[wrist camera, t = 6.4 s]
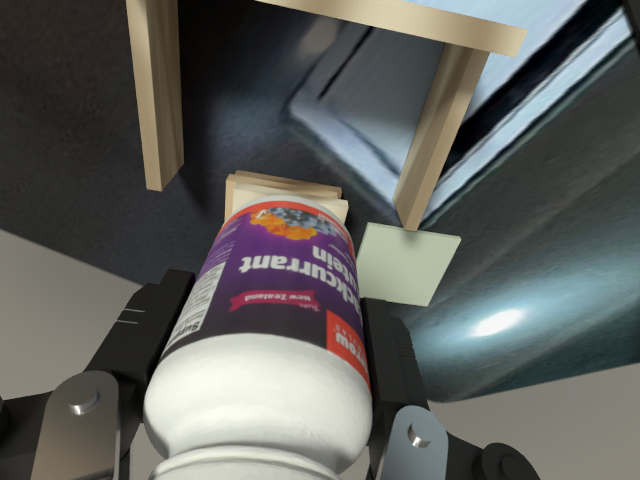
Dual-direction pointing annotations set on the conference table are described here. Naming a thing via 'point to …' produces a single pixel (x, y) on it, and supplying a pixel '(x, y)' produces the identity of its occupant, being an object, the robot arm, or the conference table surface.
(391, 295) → the sage mat
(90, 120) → the conference table surface
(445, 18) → the enclosure
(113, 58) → the conference table surface
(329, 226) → the pill bottle
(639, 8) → the calculator
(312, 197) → the offcut stack
